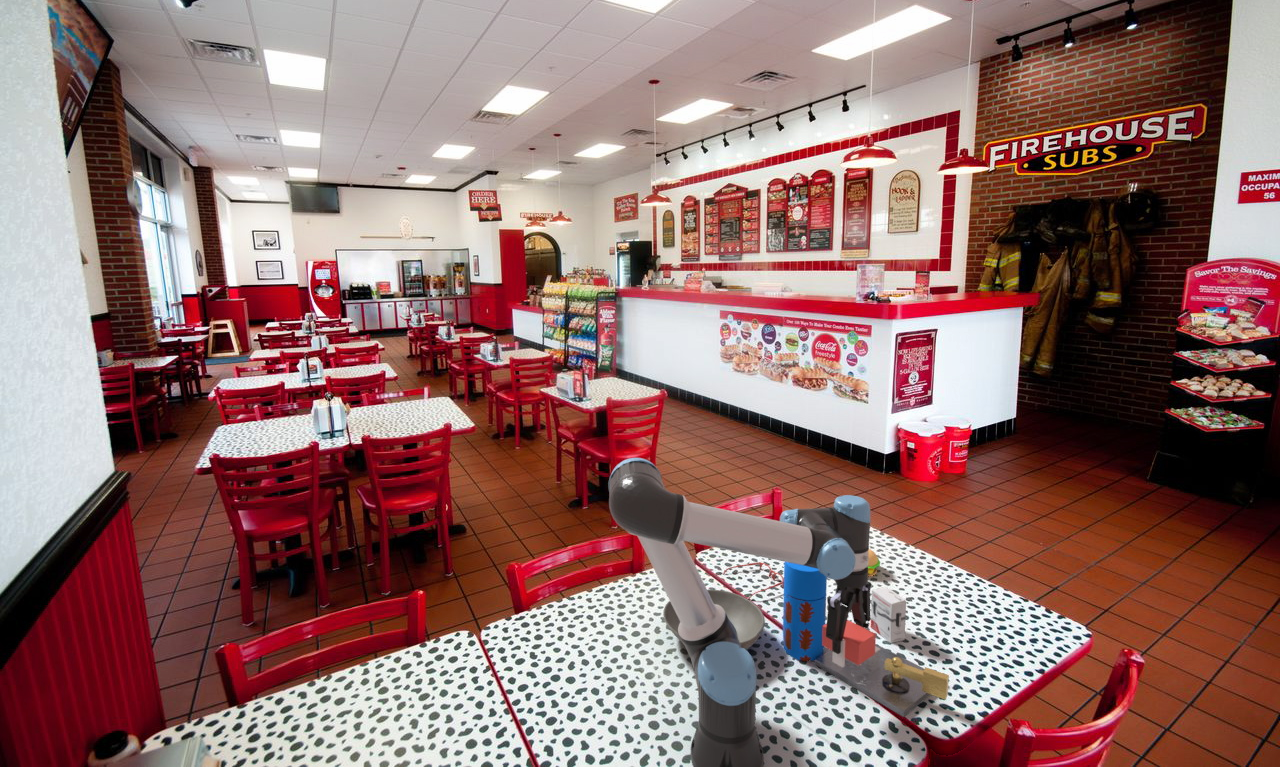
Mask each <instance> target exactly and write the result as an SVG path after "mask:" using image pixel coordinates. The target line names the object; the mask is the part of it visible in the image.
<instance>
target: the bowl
mask: <svg viewBox="0 0 1280 767" xmlns="http://www.w3.org/2000/svg"><path fill="white" fill-rule="evenodd" d="M707 591H708V593H709V595H710V597H711V599H712V601H713V603H714V604H717V605H720V606H721V607H722V608H723V609H724V610H725V613H726V615H727V617H728V619H729V620H730V621H731V622H732V624H733V625H734V627H735V629H736V632H737V635H738V639H739V642H740V645H741V647H742V648H744V649H745V650H748V649H749V648H751V647H752V646H753V645H754V644H755V643H756V642H757V641H758V639H759V638H760V636H761V634H762V633H763V630H764V629H765V626H766V625H765V624H766V619H765V616H764V613H763V611H762V610H761V609H760V607H759V606H757V604H756V603H754V602H753V601H752V600H750V599H749V600H748V598H747V597H744V596H743V595H740V594H738V593H734V592H731V591H727V590H719V589H707ZM662 615H663V620H664V622H665V624H666V626H667V627H668V628H669V630H670V632H672V633H673V635H674V636H675V637H676V639H678V640H679V641H680V642H681V643H682V645H684V643H683V641H682V639H681V637H680V635H679V633H678V627H679V624H680V620H679V618H678V616H677V614H676V612H675V610H674V608H673V606H672V604H671V602H670V600H669V601H668V602H667V603H666V604H665V606H664V608H663V613H662Z"/></svg>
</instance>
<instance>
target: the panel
mask: <svg viewBox="0 0 1280 767" xmlns="http://www.w3.org/2000/svg"><path fill="white" fill-rule="evenodd" d="M832 655H833V651H831V650H830V649H828V651H826V652H824V653H823V655H821V656H820V657H818V658H816V659H815V660H814V665H815V666H817V667H818V668H820V669H822V670H823V671H825V672H827V673H829V674H830V675H832V676H833V677H835V678H837V679H839V680H840V681H842V682H844V683H845V684H847V685H849V686H850V687H852V688H854V689H856V690H858V692H860V693H862V694H864V695H865V696H867V697H869V698H871V699H872V700H874V701H876V702H877V703H879V704H881V705H882V706H885V707H886V708H888V709H889V710H891V711H892V712H894V713H895V714H897V715H899V716H901V717H902V718H904V717H906V716H907V715H908V714H909V713H910V712H912V710H914V709H915V708H916V707H918V705H920V704H921V703H922V702H923V701H924V700H926V699H927V698H928V697H930V696H931V694H929V693H926V692H923V691H922V684H923V683H921V682H918V681H916V680H913V679H910V678H907V677H905V676H902V675H901V682H900V683H899V684H896V683H893V682H892V680H891V679H892V672H891V671H888V670H885V661H886V659H887V658H889V659H893V658H894V657H899V658H900V659H901V660H902V663H903V664H906V665H909V666H912V667H914V668H917V669H920V670H923V671H924V669H925V667H922V666H921V665H918V664H916V663H914V662H912V661H911V660H909V659H906V658H904V657H903V656H900V655H898V654H897V653H894V652H892V651H891V650H889V649H886V648H885V647H883V646H881V645H879V644H877V643H875V654H874V655H873V656H871V657H870V658H868V659H867V660H865V661H864V662H863V663H861V664H860V665H857V664H855V663H853V662H851V661H850V660H848V659H846V658H845V666H844V667H843V668H842V667H841V666H839V665H837V664H835V663H834V662H832Z"/></svg>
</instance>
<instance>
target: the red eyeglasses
mask: <svg viewBox="0 0 1280 767" xmlns="http://www.w3.org/2000/svg"><path fill="white" fill-rule="evenodd" d="M756 565H759V569H760V570H762V567H763V565H765V566H766V567H768V568H769V574H768V577H769V578H770V577H771V578H772V581H775V580H776V575H779V576H780V577H781V580H782V581H781V582H778V583H775V584H774V585H771V586H769V587H766V588H763V589H762V590H758V591H755V592H754V593H752V594H750V596H749V597H748V598H747V599H748V600H750V599H751V598H752V596H754V595H755V594H757V593H761V592H764V591H767V590H770V589H772V588H776V587H779V586H781V588H782V589H784V576H783V575H782V574H781V573H780V572H775V571H774V570H773V569H772V568H771V566H769V565H768V564H767V563H765V562H761V561H759V562H758V561H757V562H751V563H747V564H741V565H735V566H731V567H727V568H726V569H725V570H724V571H723V573H722V575H724V576H725V573H726V572H727V571H728V570H730V569H734V568H735V569H736V568H740V567H749V566H750V567H751V566H756Z"/></svg>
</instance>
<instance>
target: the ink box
mask: <svg viewBox="0 0 1280 767" xmlns="http://www.w3.org/2000/svg"><path fill="white" fill-rule="evenodd" d="M906 614H907V600H906V598H904V597H902V596H901V595H899V594H898V593H897V592H895V591H893V590H892V589H891V588H889V587H888V586H883V587H878V588H874V589H871V601H870V617H871V618H870V628H871V629H872V630H874V631H875V633H877V634H878V635H880V636H881V637H882V638H884V639H885V640H886V641H887V642H888V643H890V644H893V643H897V642H902V641H905V638H906V619H907V618H906Z"/></svg>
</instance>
